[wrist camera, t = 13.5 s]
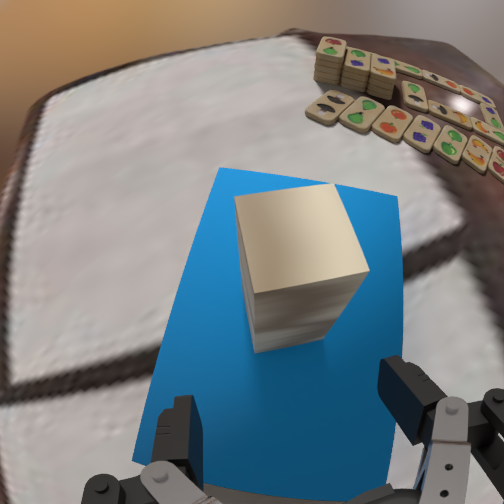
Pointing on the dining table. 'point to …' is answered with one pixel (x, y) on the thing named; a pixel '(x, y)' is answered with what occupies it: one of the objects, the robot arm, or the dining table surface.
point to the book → (282, 361)
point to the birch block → (296, 263)
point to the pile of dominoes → (396, 120)
